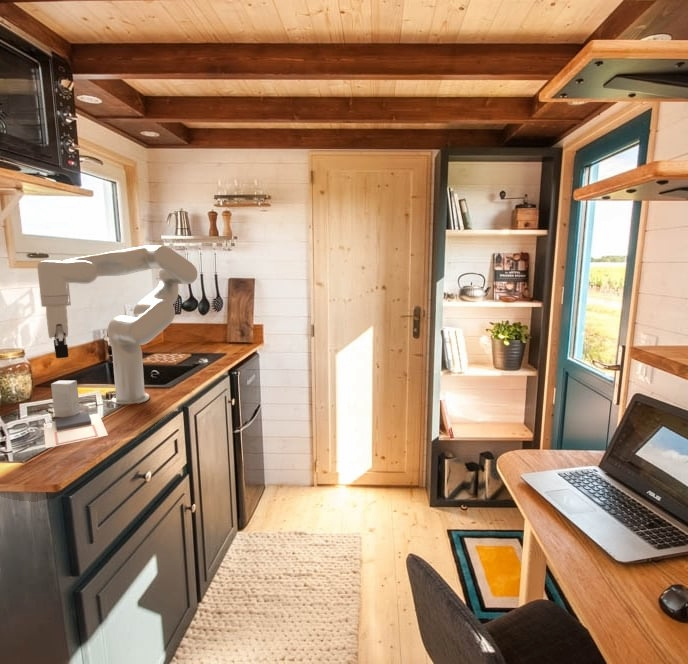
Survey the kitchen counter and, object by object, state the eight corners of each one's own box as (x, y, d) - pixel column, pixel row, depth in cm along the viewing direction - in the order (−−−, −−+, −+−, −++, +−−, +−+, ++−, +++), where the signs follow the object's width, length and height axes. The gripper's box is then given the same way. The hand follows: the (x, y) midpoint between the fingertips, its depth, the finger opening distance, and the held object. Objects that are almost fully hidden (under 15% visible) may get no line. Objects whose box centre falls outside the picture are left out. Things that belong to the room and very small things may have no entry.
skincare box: (80, 414, 139) (77, 380, 137) (73, 419, 135) (69, 384, 133) (62, 414, 139) (58, 380, 137) (54, 419, 135) (50, 383, 133)
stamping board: (43, 425, 129) (43, 422, 129) (98, 415, 138) (98, 413, 138) (45, 450, 113) (45, 447, 113) (108, 437, 122) (108, 434, 122)
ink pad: (55, 422, 130) (54, 418, 130) (88, 416, 136) (88, 412, 135) (56, 430, 124) (56, 426, 124) (91, 424, 129) (91, 420, 129)
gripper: (40, 299, 133) (46, 350, 136) (41, 304, 119) (47, 361, 122) (68, 298, 138) (73, 348, 141) (72, 303, 124) (77, 358, 127)
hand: (61, 354), depth 132 cm, fingers open, 9 cm apart
